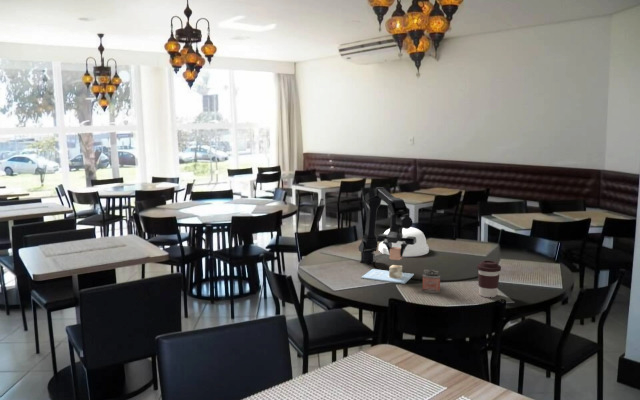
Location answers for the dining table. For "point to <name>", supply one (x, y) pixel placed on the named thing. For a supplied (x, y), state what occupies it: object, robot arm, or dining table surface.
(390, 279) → the blueprint board
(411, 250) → the dome cover
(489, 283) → the coffee cup
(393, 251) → the peach block
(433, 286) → the lighter
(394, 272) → the birch block
